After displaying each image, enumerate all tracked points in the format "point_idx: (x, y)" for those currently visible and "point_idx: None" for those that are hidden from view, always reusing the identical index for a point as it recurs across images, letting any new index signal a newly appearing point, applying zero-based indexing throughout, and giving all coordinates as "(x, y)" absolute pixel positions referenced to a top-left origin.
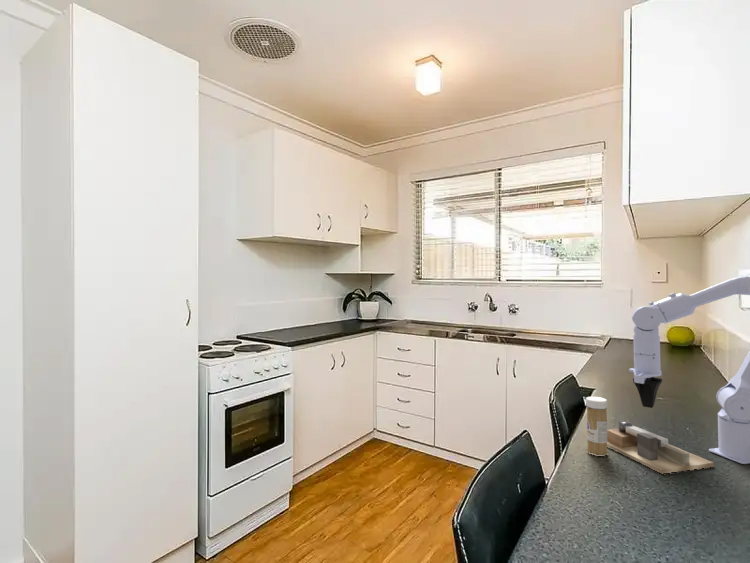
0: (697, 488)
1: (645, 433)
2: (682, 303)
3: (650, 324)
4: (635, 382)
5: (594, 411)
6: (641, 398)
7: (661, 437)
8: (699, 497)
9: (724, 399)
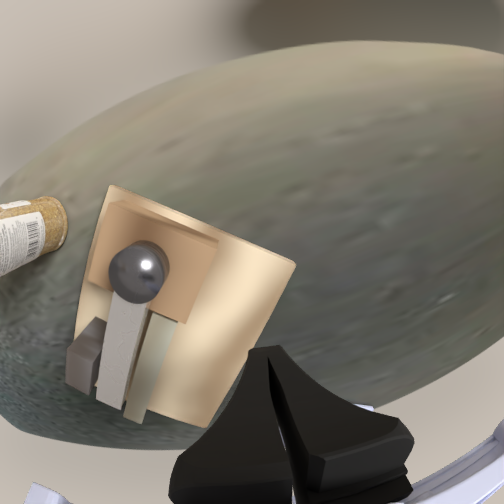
0: (86, 411)
1: (88, 367)
2: None
3: None
4: (36, 487)
5: None
6: (243, 377)
7: (115, 397)
8: (64, 413)
9: None
